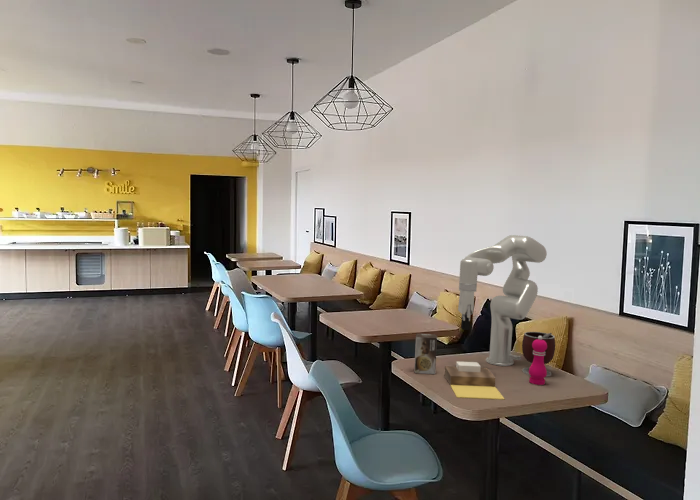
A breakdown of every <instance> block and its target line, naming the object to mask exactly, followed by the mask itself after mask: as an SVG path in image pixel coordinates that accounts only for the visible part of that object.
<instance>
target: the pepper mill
mask: <svg viewBox="0 0 700 500" xmlns="http://www.w3.org/2000/svg"><path fill="white" fill-rule="evenodd" d="M532 347H533V349H534V350H533V354H534V360H533V363H531V365H530V366H529V367H530V368H529V374H530V375H529V379H528V381H529V383H530V384H532V385H536V386H538V385H539V386H543V385H546V379H545V378H547V377H546V375H547V370H548V369H547V368H546V364H544V355H545V353H546V352H545V350H546V349H547V343H546V342H545V341H544V340H542V336H538V339H536V340H534V341H533V343H532Z"/></svg>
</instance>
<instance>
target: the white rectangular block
mask: <svg viewBox="0 0 700 500" xmlns="http://www.w3.org/2000/svg"><path fill="white" fill-rule="evenodd" d="M455 362H456V363H455V366H456V368H457V369H458V371H462V372H480V370H481V368H482V366H481V365H480V364H479V362H477V361H455Z"/></svg>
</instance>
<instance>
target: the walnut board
mask: <svg viewBox="0 0 700 500" xmlns="http://www.w3.org/2000/svg"><path fill="white" fill-rule="evenodd" d="M444 377H445V379H446V380H447V382H448V384H449V386H450V385H468V386H491V387H496V376H494V374H493V373H492V372H491V371H490V370H489V368H487V367H481V370H480V372H462V371H458V369H457V368H456V365H455V366H452V365H445V366H444Z"/></svg>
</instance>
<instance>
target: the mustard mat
mask: <svg viewBox="0 0 700 500" xmlns="http://www.w3.org/2000/svg"><path fill="white" fill-rule="evenodd" d="M449 387H450V389H452V392H453V393H454V395H455V397H456V398H457V399H458V398H459V399H475V400H476V399H479V400H480V399H481V400H501V401H502V400H506V399H505V397H504V395H502V393H501V392H500V391H499V389H498V388H497V387H496V386H495V387H491V386H468V385H450V384H449Z"/></svg>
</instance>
